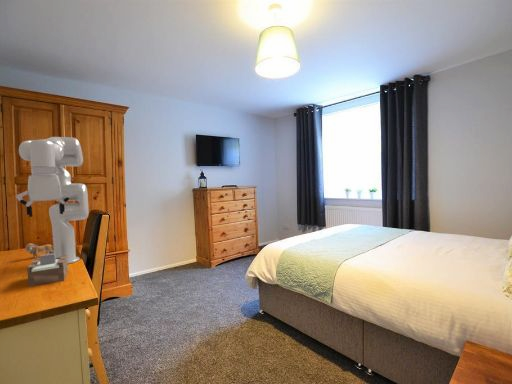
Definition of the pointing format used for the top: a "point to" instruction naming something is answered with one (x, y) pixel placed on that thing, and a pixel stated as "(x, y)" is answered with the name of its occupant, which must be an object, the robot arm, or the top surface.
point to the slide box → (47, 273)
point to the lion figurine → (38, 249)
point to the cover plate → (44, 267)
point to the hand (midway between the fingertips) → (46, 215)
